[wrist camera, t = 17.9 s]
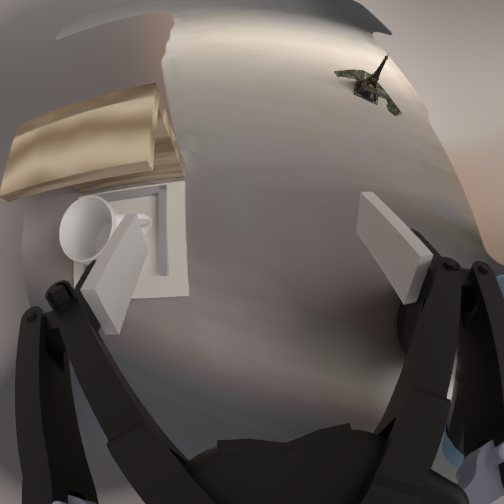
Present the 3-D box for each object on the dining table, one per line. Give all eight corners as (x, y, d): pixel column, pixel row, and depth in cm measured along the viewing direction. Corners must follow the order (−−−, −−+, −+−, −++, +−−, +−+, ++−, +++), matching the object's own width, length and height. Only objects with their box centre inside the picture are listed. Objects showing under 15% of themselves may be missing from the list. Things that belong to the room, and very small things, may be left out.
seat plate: (189, 296, 40) (187, 295, 39) (75, 300, 39) (71, 300, 37) (185, 182, 43) (183, 178, 42) (79, 197, 42) (75, 194, 40)
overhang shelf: (185, 223, 42) (146, 160, 22) (76, 235, 41) (-1, 196, 21) (185, 165, 44) (156, 82, 24) (81, 182, 42) (18, 125, 23)
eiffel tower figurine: (402, 116, 49) (431, 80, 36) (370, 123, 48) (398, 82, 35) (365, 69, 51) (384, 31, 38) (332, 73, 50) (349, 30, 37)
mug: (167, 256, 40) (145, 240, 30) (100, 279, 39) (63, 270, 29) (155, 204, 42) (132, 175, 31) (91, 229, 41) (56, 208, 30)
